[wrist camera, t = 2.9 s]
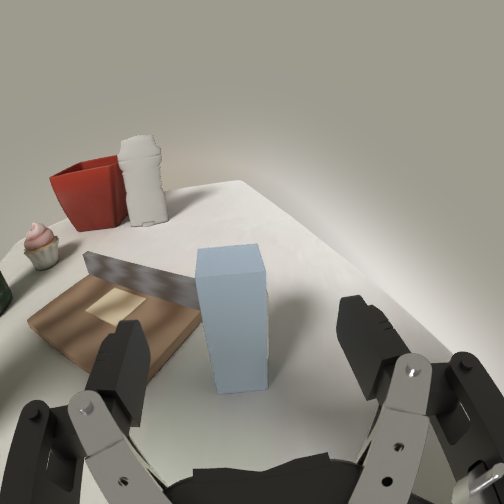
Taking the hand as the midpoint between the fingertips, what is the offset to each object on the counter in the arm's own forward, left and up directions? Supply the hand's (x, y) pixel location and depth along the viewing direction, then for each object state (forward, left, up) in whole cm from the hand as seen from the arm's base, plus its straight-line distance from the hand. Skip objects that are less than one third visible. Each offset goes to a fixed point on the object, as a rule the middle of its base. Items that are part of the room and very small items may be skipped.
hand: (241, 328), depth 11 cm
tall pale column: (-19, +59, -17) cm, 65 cm away
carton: (0, +11, -17) cm, 20 cm away
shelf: (-18, +21, -17) cm, 33 cm away
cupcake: (-41, +42, -17) cm, 61 cm away
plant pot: (-34, +65, -17) cm, 76 cm away
